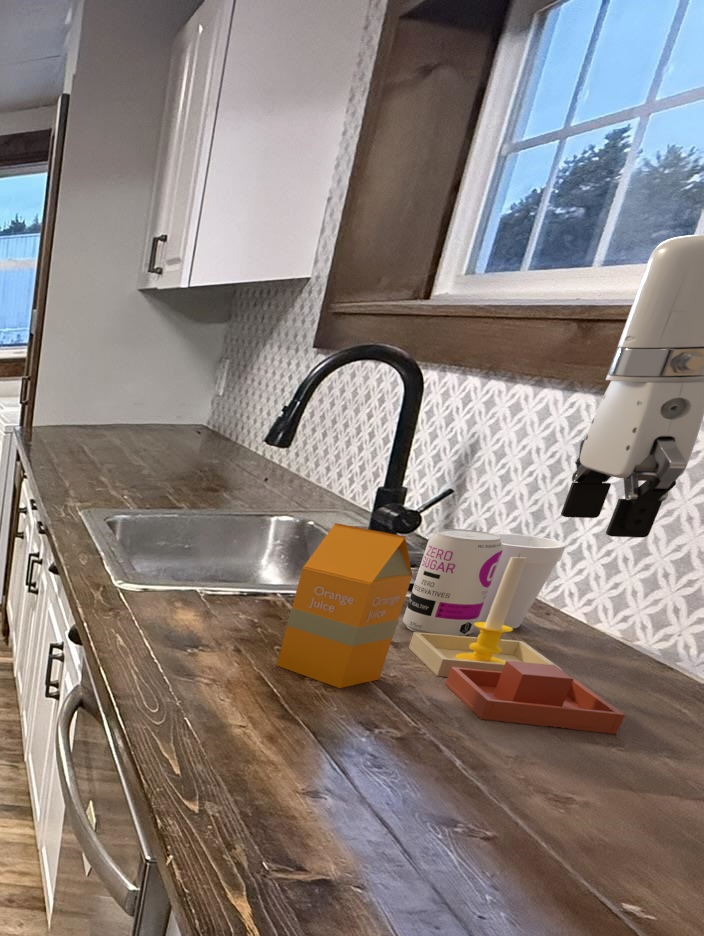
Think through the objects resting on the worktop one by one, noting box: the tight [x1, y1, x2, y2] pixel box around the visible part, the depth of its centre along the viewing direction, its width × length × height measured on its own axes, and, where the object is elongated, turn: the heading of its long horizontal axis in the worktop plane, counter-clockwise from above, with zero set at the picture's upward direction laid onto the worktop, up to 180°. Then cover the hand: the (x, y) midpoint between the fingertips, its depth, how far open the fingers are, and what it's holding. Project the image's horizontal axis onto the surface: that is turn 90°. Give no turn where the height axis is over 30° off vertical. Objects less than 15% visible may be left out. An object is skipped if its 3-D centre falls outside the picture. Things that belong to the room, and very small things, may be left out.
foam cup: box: [477, 532, 567, 629], centre depth 126 cm, size 10×9×13 cm
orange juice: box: [276, 522, 413, 689], centre depth 110 cm, size 8×9×20 cm
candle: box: [455, 553, 527, 663], centre depth 110 cm, size 5×5×16 cm
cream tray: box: [408, 631, 564, 678], centre depth 113 cm, size 12×11×2 cm
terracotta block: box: [494, 661, 575, 707], centre depth 101 cm, size 5×5×5 cm
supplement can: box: [402, 528, 503, 636], centre depth 123 cm, size 8×8×15 cm
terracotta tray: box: [444, 667, 626, 735], centre depth 101 cm, size 12×11×2 cm
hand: (601, 526), depth 93 cm, fingers open, 9 cm apart
